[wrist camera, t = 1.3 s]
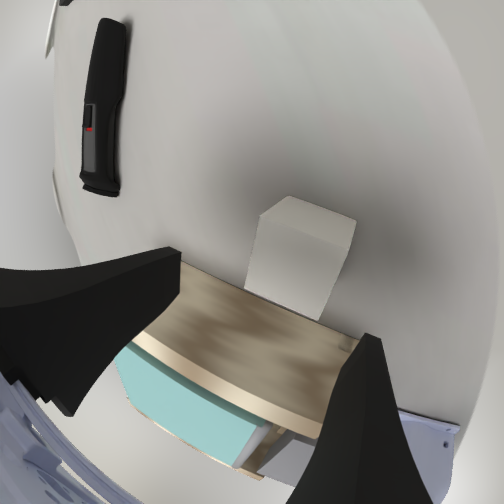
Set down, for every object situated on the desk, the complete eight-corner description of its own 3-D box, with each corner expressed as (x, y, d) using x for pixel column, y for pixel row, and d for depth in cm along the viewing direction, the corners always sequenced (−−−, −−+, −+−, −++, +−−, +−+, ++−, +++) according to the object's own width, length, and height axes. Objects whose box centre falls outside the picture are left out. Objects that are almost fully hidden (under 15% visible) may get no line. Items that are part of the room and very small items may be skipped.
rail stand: (367, 343, 16) (346, 432, 11) (293, 434, 25) (268, 484, 19) (160, 250, 21) (93, 293, 15) (166, 367, 30) (130, 405, 24)
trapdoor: (366, 417, 14) (354, 463, 11) (304, 463, 20) (291, 491, 17) (136, 304, 19) (103, 330, 16) (150, 383, 25) (130, 404, 22)
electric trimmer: (145, 18, 13) (114, 11, 11) (123, 197, 21) (94, 208, 18) (117, 27, 14) (88, 23, 12) (100, 188, 22) (73, 197, 20)
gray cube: (357, 220, 14) (349, 250, 10) (333, 280, 16) (317, 321, 12) (288, 194, 15) (259, 215, 12) (273, 255, 17) (243, 288, 14)
